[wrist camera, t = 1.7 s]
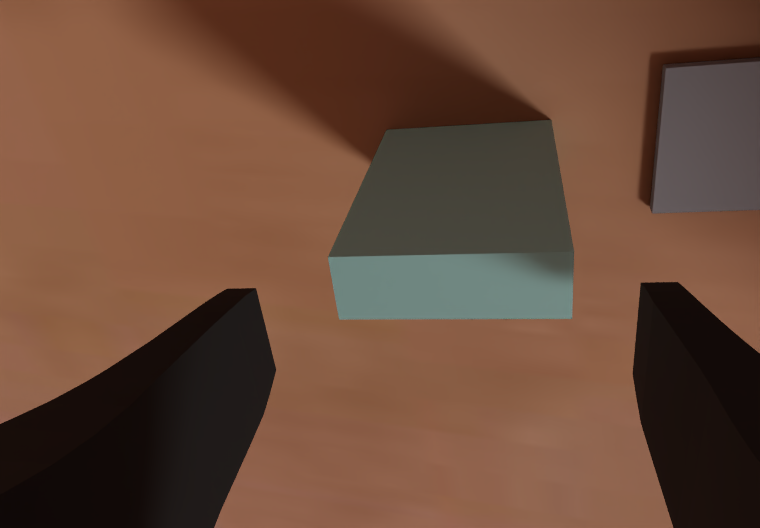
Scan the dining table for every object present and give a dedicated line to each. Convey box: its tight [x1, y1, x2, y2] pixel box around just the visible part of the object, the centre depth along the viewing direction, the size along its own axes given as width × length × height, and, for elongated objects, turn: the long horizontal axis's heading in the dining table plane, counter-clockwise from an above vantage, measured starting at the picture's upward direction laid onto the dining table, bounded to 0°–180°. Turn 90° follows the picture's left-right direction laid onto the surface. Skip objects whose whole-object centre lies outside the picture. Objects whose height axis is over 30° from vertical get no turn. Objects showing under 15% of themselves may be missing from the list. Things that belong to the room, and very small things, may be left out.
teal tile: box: [328, 120, 574, 319], centre depth 17 cm, size 2×5×8 cm, turn 97°
